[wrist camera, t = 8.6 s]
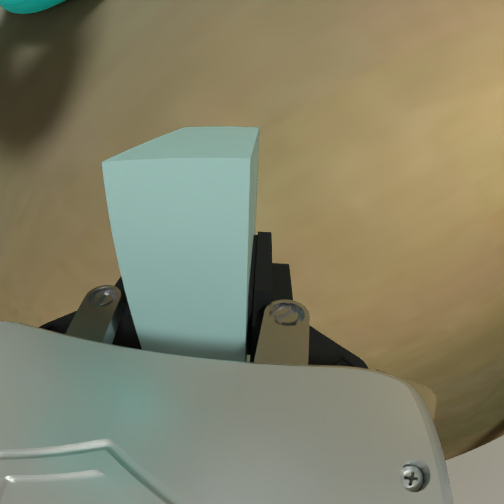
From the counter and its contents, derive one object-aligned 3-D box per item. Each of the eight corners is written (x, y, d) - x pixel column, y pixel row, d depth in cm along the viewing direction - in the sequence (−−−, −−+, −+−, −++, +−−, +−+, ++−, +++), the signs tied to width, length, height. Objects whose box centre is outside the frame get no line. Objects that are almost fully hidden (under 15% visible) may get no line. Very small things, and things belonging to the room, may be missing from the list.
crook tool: (407, 145, 11) (509, 197, 5) (325, 415, 22) (332, 485, 16) (184, 127, 12) (102, 162, 5) (210, 412, 22) (199, 483, 16)
